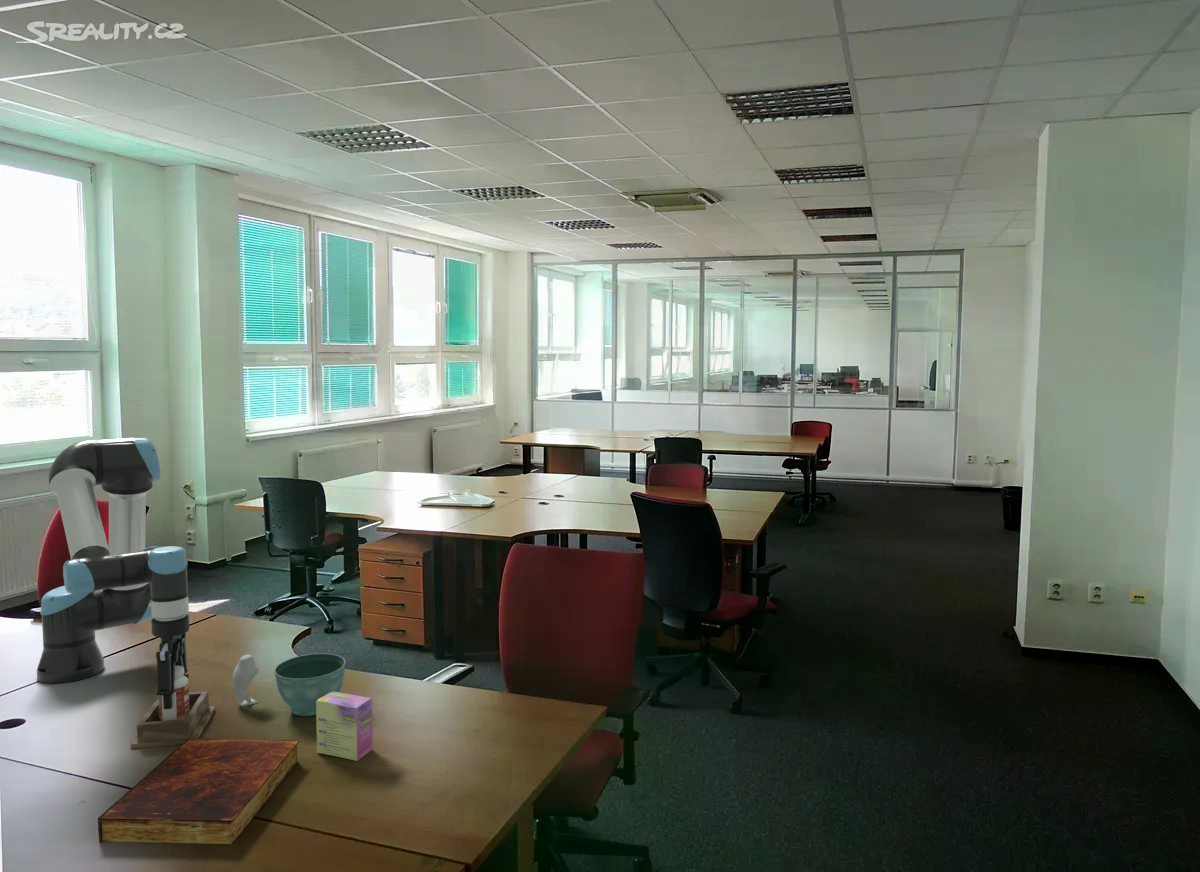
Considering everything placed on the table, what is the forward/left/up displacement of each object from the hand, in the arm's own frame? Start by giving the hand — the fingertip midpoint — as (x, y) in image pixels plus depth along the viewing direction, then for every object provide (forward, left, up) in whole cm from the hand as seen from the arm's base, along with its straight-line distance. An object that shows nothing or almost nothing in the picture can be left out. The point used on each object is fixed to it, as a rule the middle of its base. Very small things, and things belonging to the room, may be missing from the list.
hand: (174, 714), depth 184 cm
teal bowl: (-5, +29, -4) cm, 30 cm away
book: (+33, +15, -4) cm, 37 cm away
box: (+19, +39, -4) cm, 44 cm away
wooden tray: (0, 0, -3) cm, 3 cm away
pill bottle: (0, 0, -1) cm, 1 cm away
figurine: (-11, +13, -4) cm, 17 cm away
